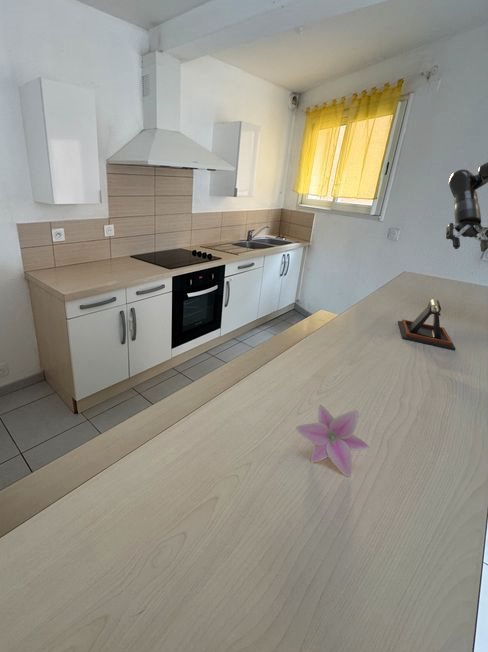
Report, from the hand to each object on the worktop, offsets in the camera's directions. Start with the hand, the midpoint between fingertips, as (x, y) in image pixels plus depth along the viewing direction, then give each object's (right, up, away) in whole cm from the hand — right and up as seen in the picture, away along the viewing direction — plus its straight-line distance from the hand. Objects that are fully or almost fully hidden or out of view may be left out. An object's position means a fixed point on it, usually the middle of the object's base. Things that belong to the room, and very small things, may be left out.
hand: (470, 249), depth 120 cm
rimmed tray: (-21, -32, -4) cm, 38 cm away
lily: (-77, -50, -56) cm, 108 cm away
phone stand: (-21, -31, -5) cm, 37 cm away
